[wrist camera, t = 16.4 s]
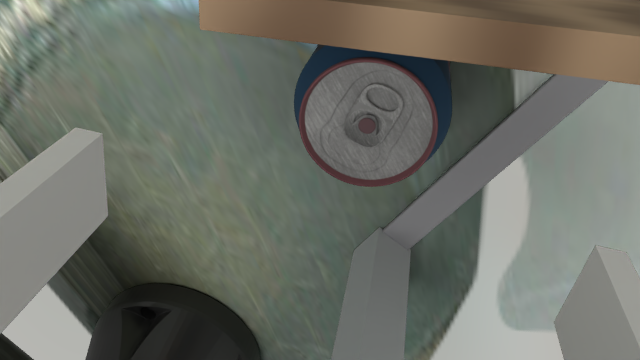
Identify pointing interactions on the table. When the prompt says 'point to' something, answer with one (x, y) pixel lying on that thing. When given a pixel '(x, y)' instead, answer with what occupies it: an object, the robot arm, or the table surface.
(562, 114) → the gray u-shaped frame
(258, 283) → the table surface
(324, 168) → the soda can
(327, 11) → the door
